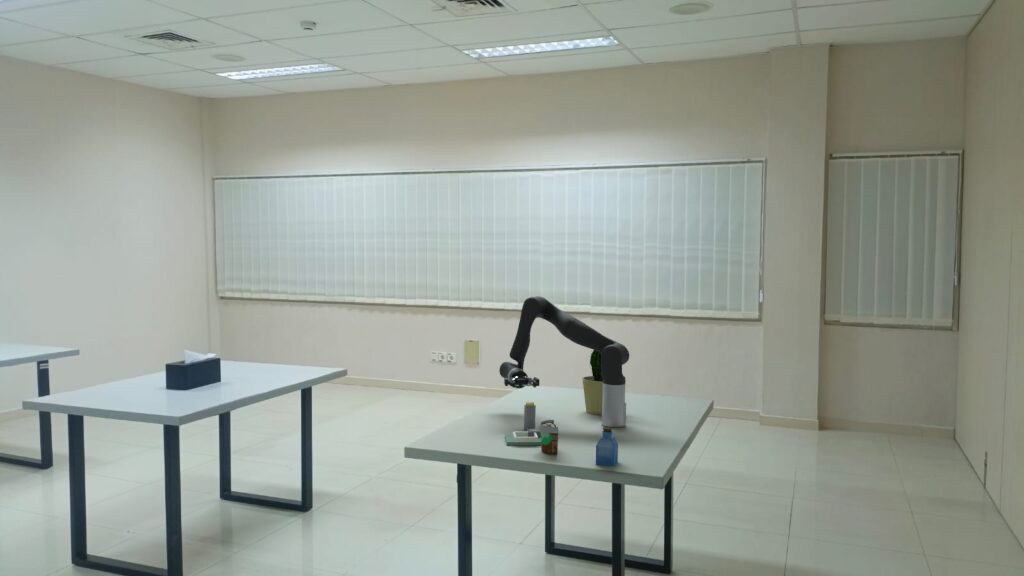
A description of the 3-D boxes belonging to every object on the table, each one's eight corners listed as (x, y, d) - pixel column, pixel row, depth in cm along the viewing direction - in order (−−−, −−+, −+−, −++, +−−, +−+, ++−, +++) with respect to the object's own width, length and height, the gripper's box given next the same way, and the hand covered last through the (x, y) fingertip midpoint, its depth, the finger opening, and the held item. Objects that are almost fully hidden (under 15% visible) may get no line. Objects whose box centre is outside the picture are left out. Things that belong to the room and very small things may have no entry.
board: (541, 436, 281) (541, 428, 281) (545, 445, 269) (545, 436, 268) (504, 437, 280) (504, 428, 280) (507, 445, 268) (507, 436, 267)
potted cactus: (580, 414, 321) (581, 346, 319) (582, 407, 336) (583, 341, 334) (616, 416, 318) (617, 347, 317) (616, 408, 334) (618, 343, 332)
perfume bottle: (617, 461, 249) (618, 426, 249) (614, 466, 244) (614, 430, 243) (599, 459, 251) (600, 424, 251) (595, 464, 246) (596, 429, 245)
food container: (536, 446, 267) (536, 419, 266) (553, 446, 267) (553, 419, 267) (540, 456, 254) (540, 427, 254) (558, 456, 255) (558, 427, 255)
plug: (534, 432, 288) (535, 401, 287) (535, 435, 284) (536, 403, 283) (523, 432, 288) (523, 401, 287) (524, 435, 283) (524, 403, 283)
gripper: (501, 369, 310) (507, 375, 294) (534, 369, 313) (542, 375, 297) (500, 386, 311) (506, 394, 295) (533, 386, 313) (541, 394, 297)
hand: (524, 385), depth 296 cm, fingers open, 8 cm apart
